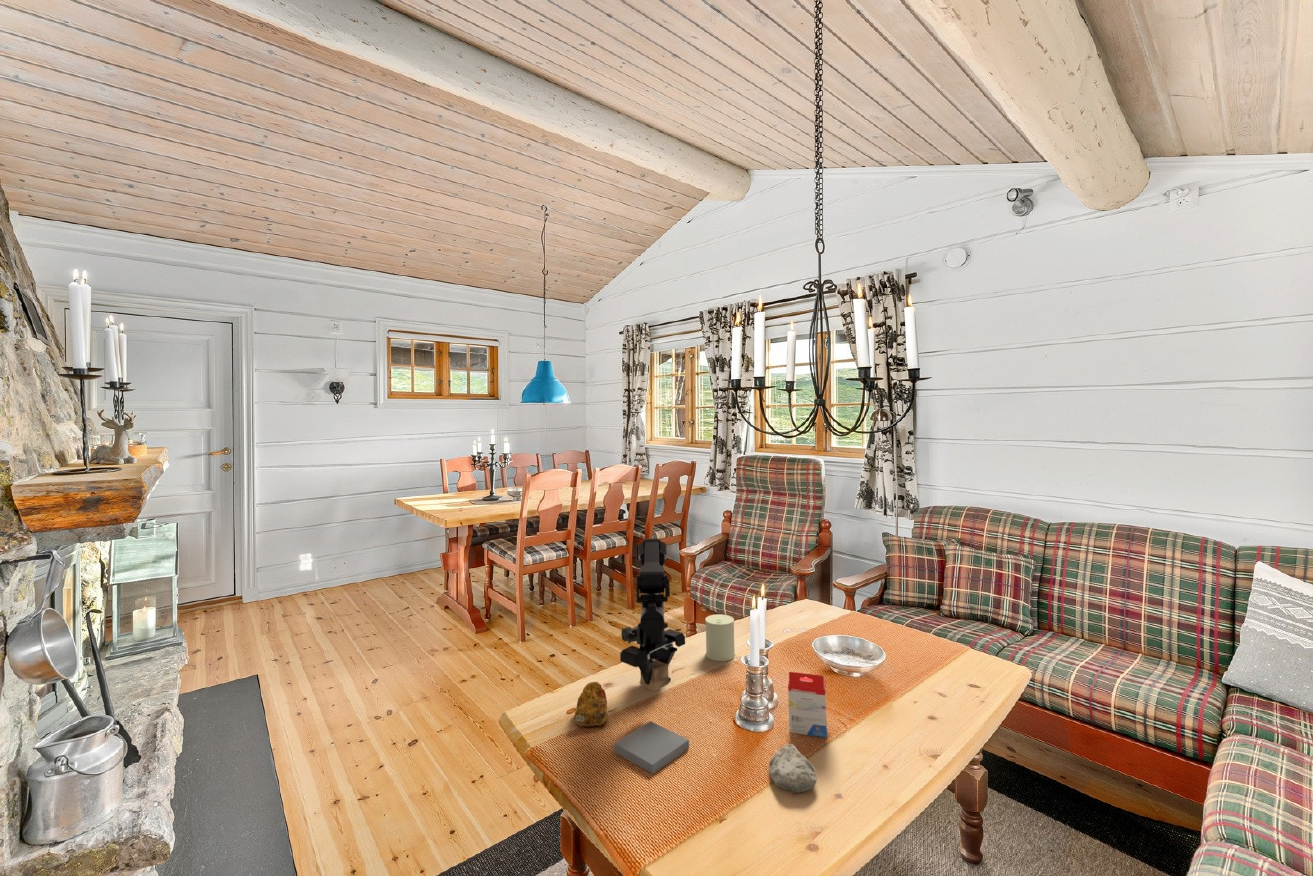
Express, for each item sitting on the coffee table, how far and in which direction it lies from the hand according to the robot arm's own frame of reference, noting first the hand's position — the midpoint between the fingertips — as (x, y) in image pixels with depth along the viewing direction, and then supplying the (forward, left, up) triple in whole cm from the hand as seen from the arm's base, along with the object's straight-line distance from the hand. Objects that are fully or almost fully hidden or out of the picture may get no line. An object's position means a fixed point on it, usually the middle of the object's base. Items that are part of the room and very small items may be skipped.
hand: (654, 680), depth 140 cm
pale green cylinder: (-39, -8, -9) cm, 41 cm away
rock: (+11, -12, -9) cm, 19 cm away
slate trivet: (+12, +10, -9) cm, 18 cm away
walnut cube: (0, 0, -1) cm, 1 cm away
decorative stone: (0, +38, -9) cm, 39 cm away
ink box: (-18, +33, -9) cm, 39 cm away
